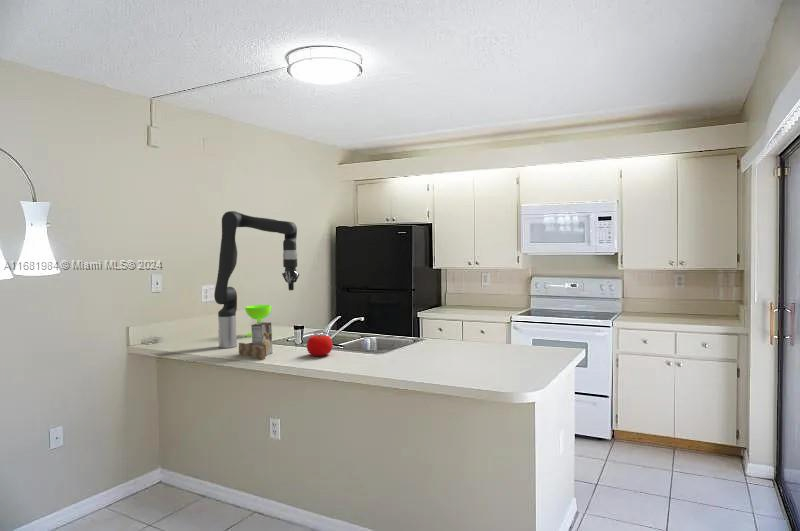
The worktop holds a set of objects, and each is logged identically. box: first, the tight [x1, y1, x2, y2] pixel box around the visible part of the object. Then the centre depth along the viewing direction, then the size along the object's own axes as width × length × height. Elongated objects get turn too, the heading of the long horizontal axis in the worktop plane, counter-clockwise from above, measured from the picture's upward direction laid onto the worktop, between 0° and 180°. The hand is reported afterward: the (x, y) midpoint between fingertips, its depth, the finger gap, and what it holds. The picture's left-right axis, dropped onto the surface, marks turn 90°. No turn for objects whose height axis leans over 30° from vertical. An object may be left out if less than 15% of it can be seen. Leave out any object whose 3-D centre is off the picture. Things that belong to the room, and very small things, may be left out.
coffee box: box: [251, 321, 273, 356], centre depth 290 cm, size 9×6×16 cm
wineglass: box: [244, 304, 272, 338], centre depth 353 cm, size 16×16×18 cm
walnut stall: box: [238, 342, 267, 360], centre depth 287 cm, size 22×5×6 cm, turn 47°
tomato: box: [306, 334, 334, 357], centre depth 285 cm, size 14×13×10 cm
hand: (291, 290), depth 310 cm, fingers closed
